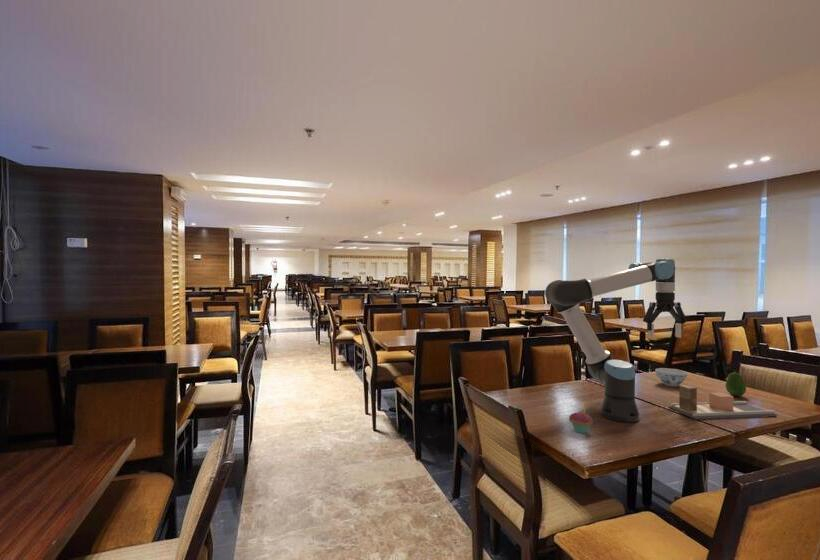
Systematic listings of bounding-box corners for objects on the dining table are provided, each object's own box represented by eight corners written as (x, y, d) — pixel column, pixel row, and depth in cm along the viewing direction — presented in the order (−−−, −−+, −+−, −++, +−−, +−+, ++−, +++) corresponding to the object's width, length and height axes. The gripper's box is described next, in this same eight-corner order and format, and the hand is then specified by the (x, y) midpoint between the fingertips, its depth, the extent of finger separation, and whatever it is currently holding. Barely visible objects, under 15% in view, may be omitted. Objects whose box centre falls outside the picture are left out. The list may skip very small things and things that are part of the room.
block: (720, 410, 172) (720, 396, 172) (709, 405, 178) (709, 392, 178) (733, 409, 172) (733, 396, 172) (721, 405, 178) (721, 392, 178)
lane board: (695, 419, 166) (695, 414, 166) (668, 407, 181) (668, 402, 181) (776, 416, 169) (776, 411, 169) (743, 405, 184) (743, 400, 184)
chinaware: (673, 381, 228) (673, 367, 227) (694, 388, 213) (694, 374, 212) (649, 381, 227) (649, 368, 227) (668, 388, 212) (668, 374, 212)
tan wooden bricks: (691, 414, 168) (691, 389, 168) (674, 407, 178) (674, 383, 178) (745, 412, 171) (745, 388, 171) (725, 405, 181) (725, 382, 180)
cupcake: (588, 427, 157) (588, 397, 157) (596, 435, 148) (596, 404, 148) (566, 426, 158) (566, 397, 158) (572, 435, 149) (573, 403, 149)
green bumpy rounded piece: (729, 392, 204) (729, 370, 204) (748, 396, 198) (748, 373, 198) (723, 395, 200) (723, 372, 200) (742, 399, 193) (742, 375, 193)
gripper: (683, 291, 186) (683, 335, 186) (634, 291, 183) (634, 336, 184) (696, 292, 178) (696, 338, 179) (645, 292, 176) (645, 338, 176)
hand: (664, 337), depth 181 cm, fingers open, 13 cm apart
